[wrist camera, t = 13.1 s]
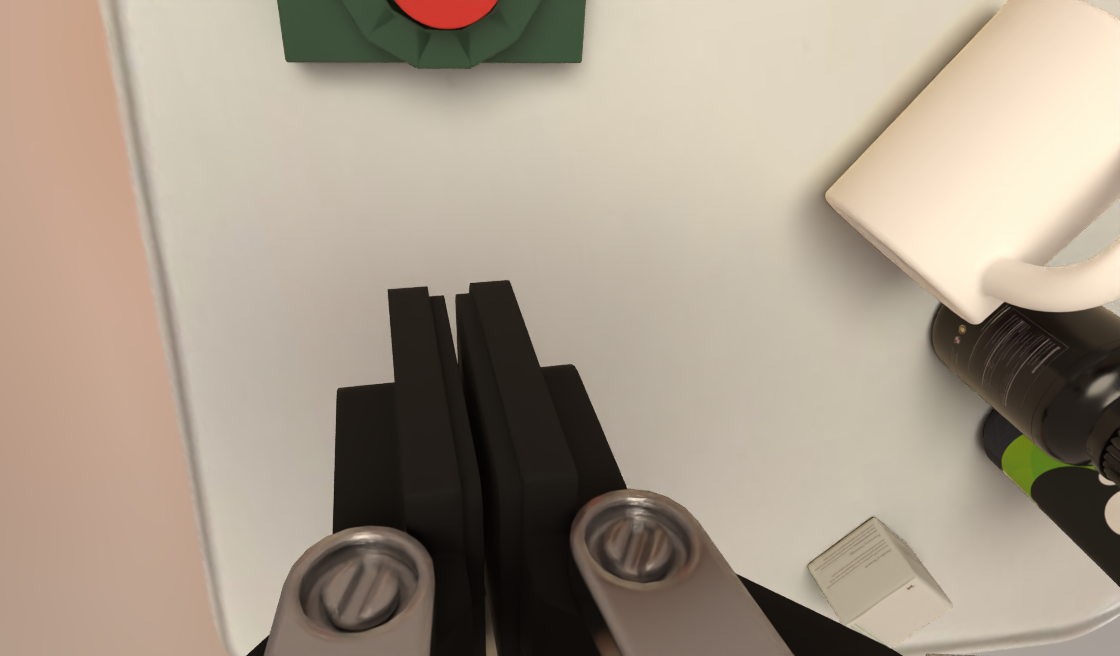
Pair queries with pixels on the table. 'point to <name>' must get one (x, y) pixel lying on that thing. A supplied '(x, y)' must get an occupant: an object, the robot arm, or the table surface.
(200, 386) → the table surface
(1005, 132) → the mug
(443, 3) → the button
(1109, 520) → the beverage can
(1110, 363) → the supplement bottle
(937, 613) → the small box
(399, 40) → the button box
